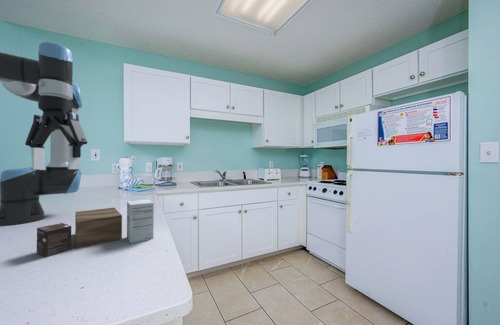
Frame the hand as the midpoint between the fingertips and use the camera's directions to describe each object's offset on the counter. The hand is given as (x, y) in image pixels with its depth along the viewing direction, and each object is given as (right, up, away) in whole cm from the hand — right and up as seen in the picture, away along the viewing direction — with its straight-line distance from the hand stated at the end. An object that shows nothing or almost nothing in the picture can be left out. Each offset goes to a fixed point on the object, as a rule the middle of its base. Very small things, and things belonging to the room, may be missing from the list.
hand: (55, 169), depth 62 cm
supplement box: (+20, -24, +11) cm, 33 cm away
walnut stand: (+4, -24, +12) cm, 27 cm away
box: (0, -24, -1) cm, 24 cm away
